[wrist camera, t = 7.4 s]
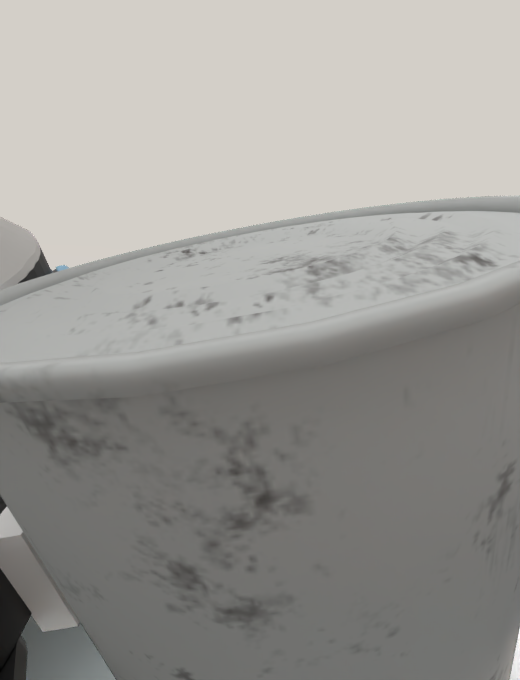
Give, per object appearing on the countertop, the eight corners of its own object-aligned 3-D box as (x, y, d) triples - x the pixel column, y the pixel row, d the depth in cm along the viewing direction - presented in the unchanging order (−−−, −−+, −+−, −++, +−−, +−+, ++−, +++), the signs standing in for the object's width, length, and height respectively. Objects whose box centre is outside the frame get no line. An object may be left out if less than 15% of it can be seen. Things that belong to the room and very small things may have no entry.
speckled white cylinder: (106, 896, 7) (-443, 434, 3) (209, 512, 16) (124, 248, 11) (615, 967, 6) (1417, 204, 1) (422, 501, 15) (425, 194, 10)
